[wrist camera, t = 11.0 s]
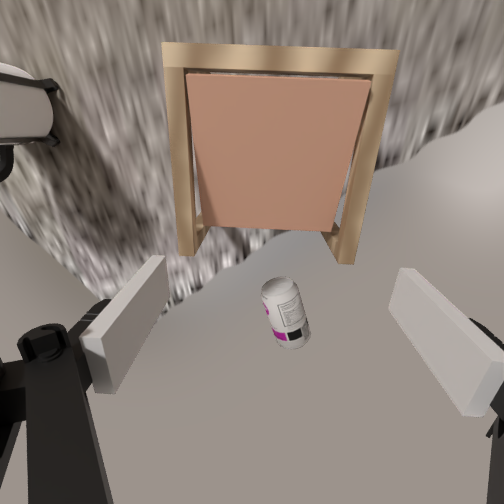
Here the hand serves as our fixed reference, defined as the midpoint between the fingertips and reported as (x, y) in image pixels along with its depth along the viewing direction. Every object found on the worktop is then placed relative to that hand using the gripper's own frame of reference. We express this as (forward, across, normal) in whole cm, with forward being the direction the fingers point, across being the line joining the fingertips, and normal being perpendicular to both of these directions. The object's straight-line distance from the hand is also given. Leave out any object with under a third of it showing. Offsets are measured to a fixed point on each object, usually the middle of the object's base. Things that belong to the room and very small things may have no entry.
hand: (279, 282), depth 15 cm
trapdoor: (+22, 0, -5) cm, 23 cm away
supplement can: (+37, -8, +37) cm, 53 cm away
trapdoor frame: (+41, 0, -4) cm, 41 cm away
